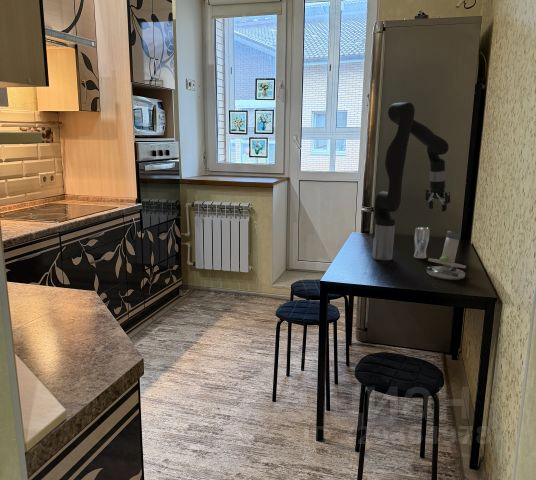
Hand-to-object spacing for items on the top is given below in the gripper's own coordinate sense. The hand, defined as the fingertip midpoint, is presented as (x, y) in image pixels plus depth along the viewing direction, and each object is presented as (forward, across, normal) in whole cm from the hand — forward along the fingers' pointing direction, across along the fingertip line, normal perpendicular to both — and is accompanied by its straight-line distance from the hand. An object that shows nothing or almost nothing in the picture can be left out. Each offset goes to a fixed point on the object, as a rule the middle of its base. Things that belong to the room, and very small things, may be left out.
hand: (437, 210), depth 249 cm
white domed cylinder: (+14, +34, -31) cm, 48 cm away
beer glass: (+20, +6, -20) cm, 29 cm away
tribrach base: (+18, +34, -32) cm, 50 cm away
